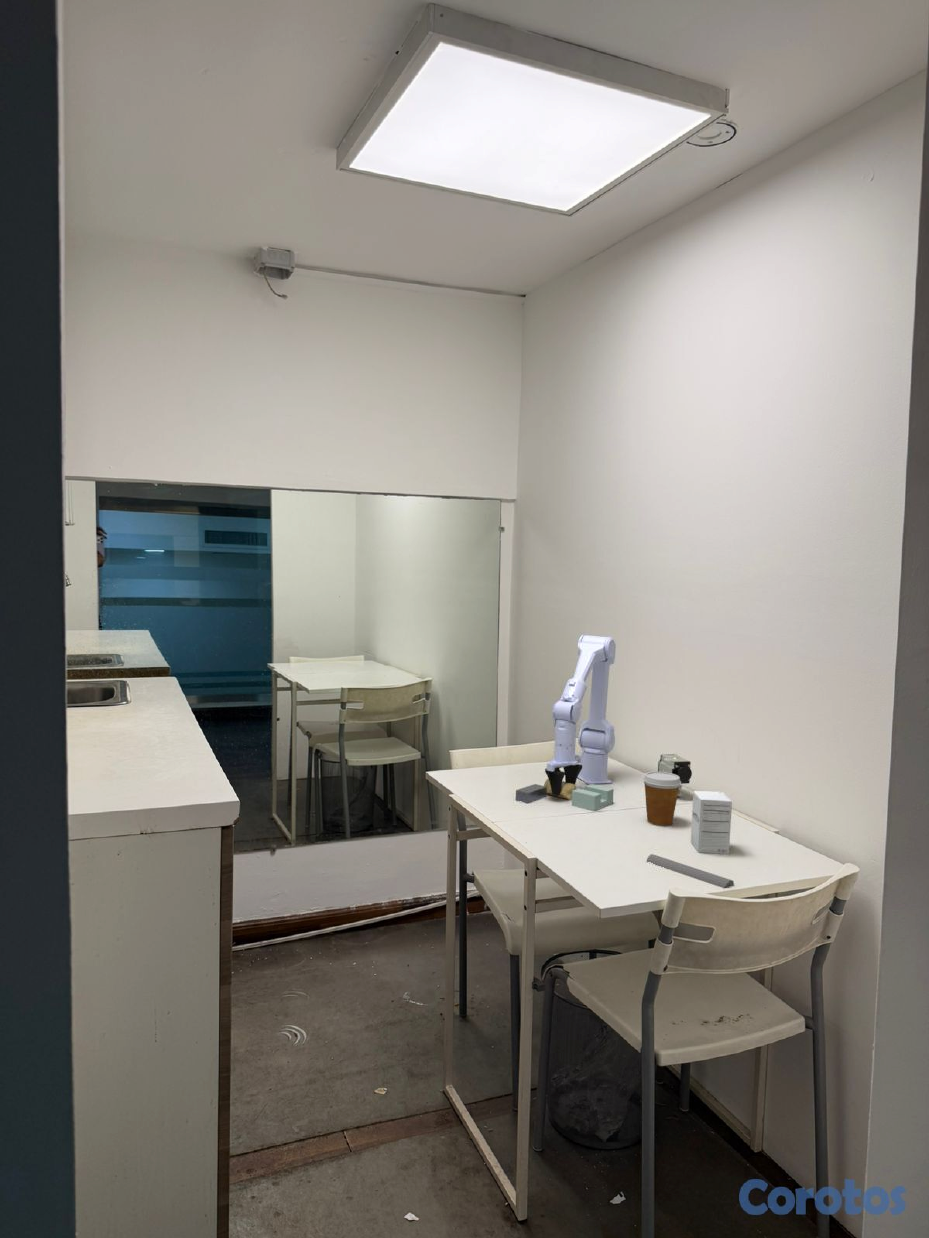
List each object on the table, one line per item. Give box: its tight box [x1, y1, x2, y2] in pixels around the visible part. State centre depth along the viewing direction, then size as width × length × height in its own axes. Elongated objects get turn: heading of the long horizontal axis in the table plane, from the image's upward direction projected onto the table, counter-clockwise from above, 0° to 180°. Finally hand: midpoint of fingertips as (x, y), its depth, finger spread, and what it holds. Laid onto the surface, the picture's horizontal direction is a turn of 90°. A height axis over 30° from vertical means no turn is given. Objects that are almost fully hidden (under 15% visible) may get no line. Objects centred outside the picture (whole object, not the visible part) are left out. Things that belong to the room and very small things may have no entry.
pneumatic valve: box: [657, 753, 693, 798], centre depth 243 cm, size 6×12×12 cm, turn 14°
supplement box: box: [690, 790, 733, 855], centre depth 199 cm, size 7×7×13 cm
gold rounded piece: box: [543, 778, 577, 801], centre depth 238 cm, size 8×4×4 cm, turn 50°
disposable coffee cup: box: [642, 771, 682, 827], centre depth 218 cm, size 10×10×12 cm
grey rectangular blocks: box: [515, 780, 564, 804], centre depth 239 cm, size 4×18×3 cm, turn 141°
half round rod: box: [646, 853, 735, 889], centre depth 184 cm, size 4×20×2 cm, turn 43°
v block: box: [571, 784, 614, 812], centre depth 232 cm, size 7×10×4 cm
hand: (562, 792), depth 238 cm, fingers open, 6 cm apart
